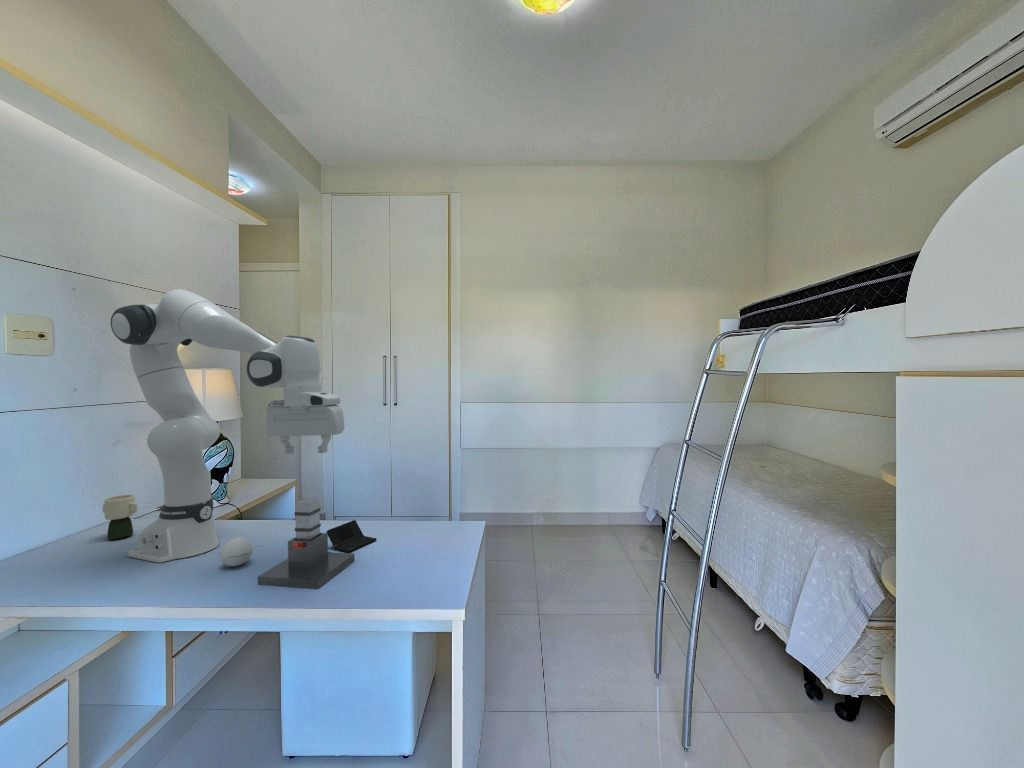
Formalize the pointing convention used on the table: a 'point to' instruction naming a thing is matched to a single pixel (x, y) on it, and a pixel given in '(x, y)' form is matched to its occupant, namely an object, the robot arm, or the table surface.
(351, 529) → the handheld gaming console
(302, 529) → the column
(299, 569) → the stand base
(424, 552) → the table surface
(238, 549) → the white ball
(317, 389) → the robot arm
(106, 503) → the character mug
